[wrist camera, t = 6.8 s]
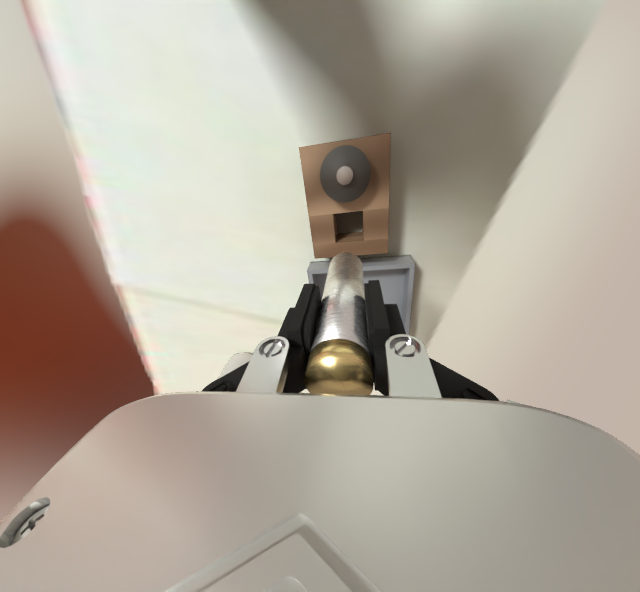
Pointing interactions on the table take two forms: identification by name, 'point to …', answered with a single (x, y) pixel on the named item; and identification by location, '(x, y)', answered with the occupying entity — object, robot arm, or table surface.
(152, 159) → the table surface
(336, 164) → the block
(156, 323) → the table surface
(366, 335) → the lock pin
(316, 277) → the tray
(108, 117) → the table surface
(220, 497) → the robot arm
